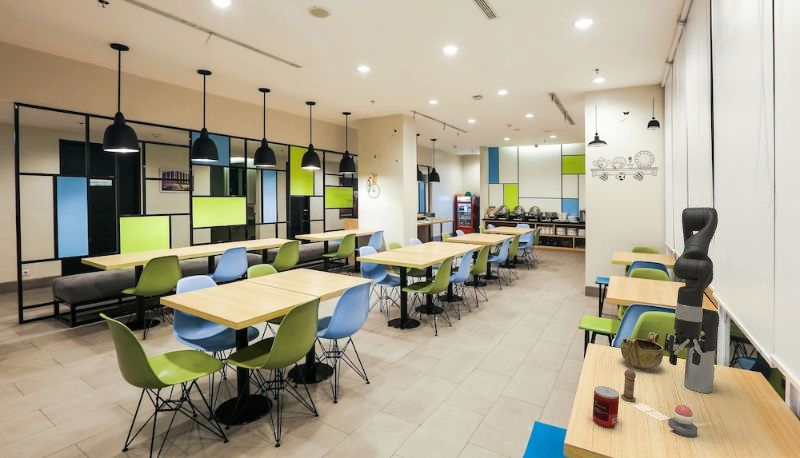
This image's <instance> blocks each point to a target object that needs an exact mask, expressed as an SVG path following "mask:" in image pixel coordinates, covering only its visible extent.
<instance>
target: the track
mask: <svg viewBox="0 0 800 458" xmlns="http://www.w3.org/2000/svg"><path fill="white" fill-rule="evenodd" d="M619 400H621V401H623V402H625V403H627V404H630V405H631V406H632V407H634V408H636V409H637V410H639V411H641V412H643V413H645V412H646V413H645V414H647V415H648V416H650V417H652V418H653V419H656V421H659V422H661V421H665V420H669V419H671V417H669V416H667V415H665V414H664V413H661V412H660V411H658V410H655V409H654V408H652V407H650V406H649V405H646V404H645V403H643V402H640V401H639V400H637V399H636V402H634V403H630V402H626V401H624V400H622V399H621V395H619Z"/></svg>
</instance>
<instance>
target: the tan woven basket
mask: <svg viewBox="0 0 800 458" xmlns="http://www.w3.org/2000/svg"><path fill="white" fill-rule="evenodd" d="M646 336H647V337H646V338H645V339H644V338H643V339H642V338H638V337H624V338H622V339H621V343H620V352H621V356H622V358H623V360H624V361H626V363H628V364H629V365H631V366H632V367H634V368H636V369H639V370H642V371H643V370H645V371H649V370H653V369H655V368H657V367H658V366H659V365H660V364H661V363H662V361H663V357H664V346H662V345H661V344H659V340H660V335H659V333H656V332H653V331H649V333H648V334H647V335H646Z"/></svg>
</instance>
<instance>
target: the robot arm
mask: <svg viewBox="0 0 800 458" xmlns="http://www.w3.org/2000/svg"><path fill="white" fill-rule="evenodd" d="M718 222H719V214H718V211H717V209H716V208H714V207H709V206H707V207H686V208H684V209H683V210H682V212H681V226H682V235H683V252H682V253H681V255H679V257H678V258H676V261H675V262H674V264H673V268H672V271H673V273H674V275H675V277H677V278H678V279H681V280H684V283H685V284H684V286H680V287H678V289H677V290H678V291H677V299H676V307H675V312H674V324H673V330H674V334H671V333H666V334H665V337H664V345H663V351H666V352H667V353H669V358H668V362H669V364H670V365H672V366H677V365H678V353H679V352H680V351H682V350H683V349H686V353H685V354H686V355H685V364H684V365H685V368H684V377H683V378H684V380H683V386H684V387H685V388H687V389H689V390H691V391H695V392H698V393H702V394H709V393H712V391H713V389H714V379H715V370H716V369H715V353H716V347H717V346H716V345H717V340H718V331H719V326H720V314H719V313H718V311H716V310H712V309H709V308H703V304H704V303H703V302H704V294H705V290H706V289H707V288H708V287H709V286H710V285H711V284H712V283H713V280H714V263H713V261H712V259H711V257H710V256H709V251H710V250H709V248H710V244H711V243H712V240H713V238H714V236H715V233H716V231H717V227H718V224H719V223H718ZM694 232H696V233H694ZM702 332H704V334H703V333H702Z"/></svg>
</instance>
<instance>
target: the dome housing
mask: <svg viewBox="0 0 800 458" xmlns="http://www.w3.org/2000/svg"><path fill="white" fill-rule="evenodd" d="M667 425H668V427H669V428H670V432H672V433H674V434H675V435H678V436H681V437H684V438H690V439H691V438H695V437H696V438H697V436H698V427H697V426H696V425H695V424H694V422H693V423H692V424H683V423H680V422H678V421H676V420H675V419H674V417H673V418H672V417H670V419H667ZM671 429H672V430H671Z"/></svg>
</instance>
